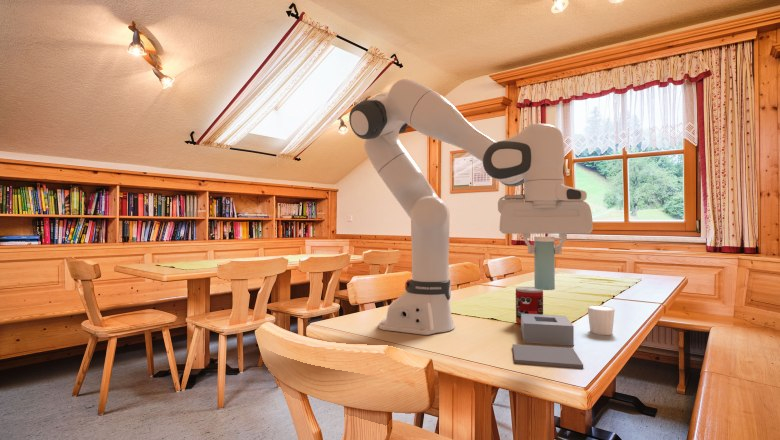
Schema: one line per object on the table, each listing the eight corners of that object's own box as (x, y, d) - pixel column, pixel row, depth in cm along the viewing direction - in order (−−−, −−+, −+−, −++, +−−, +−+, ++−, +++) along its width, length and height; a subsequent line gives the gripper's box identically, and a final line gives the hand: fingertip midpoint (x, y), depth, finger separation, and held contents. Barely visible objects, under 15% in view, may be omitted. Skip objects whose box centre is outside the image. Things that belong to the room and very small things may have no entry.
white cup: (583, 329, 120) (583, 305, 120) (607, 329, 120) (607, 305, 120) (594, 335, 113) (594, 310, 113) (619, 335, 113) (619, 310, 113)
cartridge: (535, 289, 94) (535, 237, 94) (533, 286, 98) (533, 236, 98) (556, 290, 92) (555, 237, 93) (553, 287, 97) (553, 236, 97)
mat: (514, 363, 91) (514, 359, 91) (512, 347, 102) (512, 344, 102) (583, 368, 87) (583, 364, 87) (573, 351, 99) (572, 348, 99)
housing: (523, 342, 107) (523, 323, 107) (521, 330, 118) (520, 313, 118) (573, 345, 104) (573, 326, 104) (565, 333, 115) (565, 315, 115)
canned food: (511, 321, 129) (511, 286, 130) (536, 320, 130) (535, 286, 130) (522, 327, 122) (522, 290, 122) (547, 326, 123) (547, 290, 123)
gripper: (497, 194, 95) (498, 253, 95) (594, 192, 90) (594, 255, 90) (497, 195, 101) (498, 251, 101) (588, 194, 96) (588, 253, 96)
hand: (544, 253), depth 95 cm, fingers closed on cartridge, 4 cm apart
